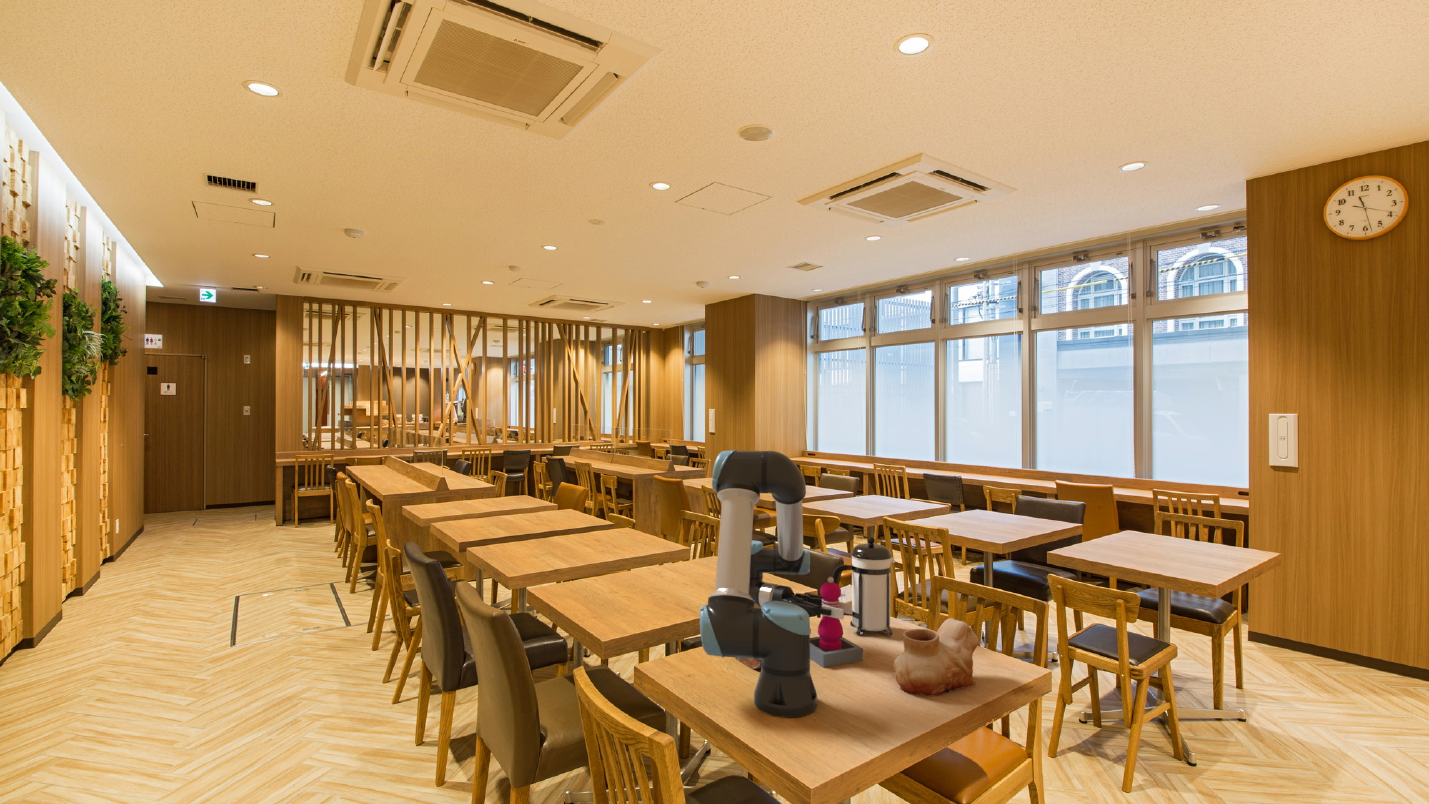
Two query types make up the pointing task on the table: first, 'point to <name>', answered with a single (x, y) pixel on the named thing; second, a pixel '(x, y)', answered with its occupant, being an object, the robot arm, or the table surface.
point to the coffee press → (869, 587)
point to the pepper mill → (830, 626)
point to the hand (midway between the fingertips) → (847, 611)
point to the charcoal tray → (835, 653)
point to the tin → (751, 662)
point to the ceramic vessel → (937, 659)
